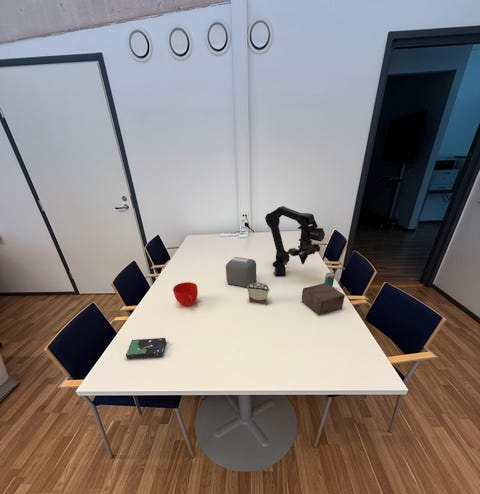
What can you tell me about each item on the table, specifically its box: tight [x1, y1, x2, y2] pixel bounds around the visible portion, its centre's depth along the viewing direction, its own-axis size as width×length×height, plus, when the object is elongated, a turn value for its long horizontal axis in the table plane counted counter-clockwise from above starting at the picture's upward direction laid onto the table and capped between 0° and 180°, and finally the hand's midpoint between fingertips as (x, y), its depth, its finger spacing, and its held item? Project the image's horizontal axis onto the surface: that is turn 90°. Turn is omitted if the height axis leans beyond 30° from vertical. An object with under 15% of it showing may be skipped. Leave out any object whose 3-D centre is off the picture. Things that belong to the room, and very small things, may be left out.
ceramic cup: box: [172, 281, 199, 307], centre depth 143 cm, size 13×17×10 cm
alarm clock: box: [225, 256, 257, 288], centre depth 162 cm, size 16×11×16 cm
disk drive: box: [125, 337, 167, 360], centre depth 114 cm, size 10×3×15 cm
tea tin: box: [324, 272, 336, 288], centre depth 152 cm, size 5×5×10 cm
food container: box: [246, 282, 270, 306], centre depth 145 cm, size 12×6×10 cm, turn 71°
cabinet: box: [301, 282, 346, 317], centre depth 139 cm, size 15×14×8 cm
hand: (302, 263), depth 158 cm, fingers closed
